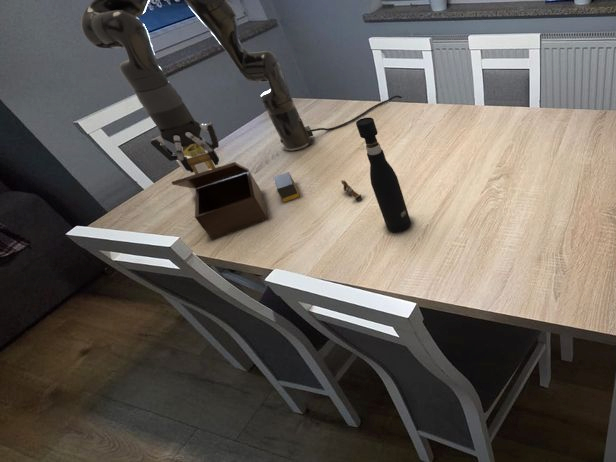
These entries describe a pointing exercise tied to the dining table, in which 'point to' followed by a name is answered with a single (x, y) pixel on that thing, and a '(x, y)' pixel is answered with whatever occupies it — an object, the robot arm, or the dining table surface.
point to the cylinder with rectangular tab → (199, 167)
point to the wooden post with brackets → (350, 191)
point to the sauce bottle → (195, 152)
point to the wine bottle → (384, 180)
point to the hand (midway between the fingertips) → (205, 166)
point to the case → (229, 205)
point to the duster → (286, 187)
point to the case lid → (209, 172)
